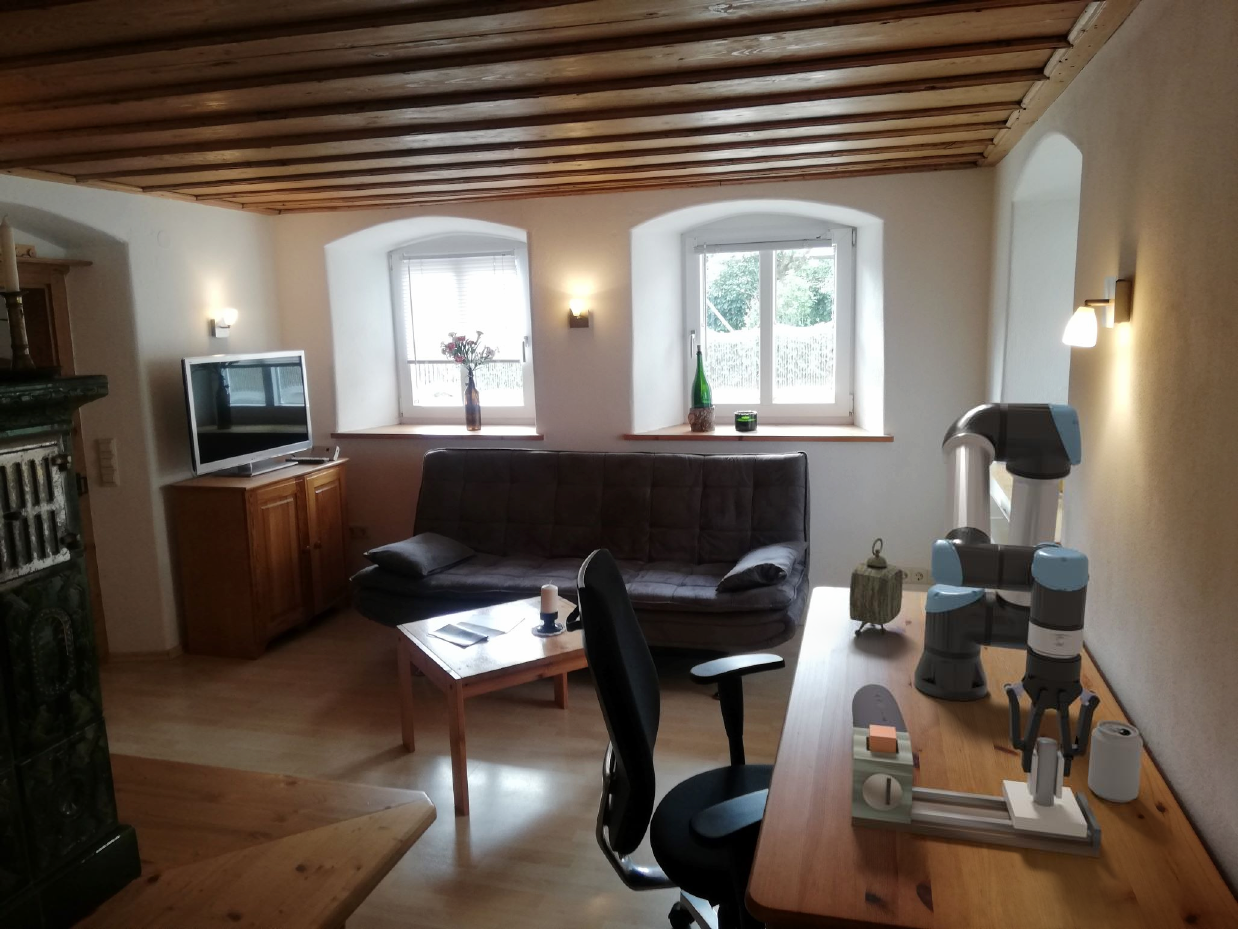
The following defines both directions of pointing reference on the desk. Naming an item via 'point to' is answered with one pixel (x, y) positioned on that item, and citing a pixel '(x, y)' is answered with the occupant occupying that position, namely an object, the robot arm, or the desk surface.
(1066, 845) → the rail bed
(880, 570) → the tabletop clock
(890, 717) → the bluetooth speaker
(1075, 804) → the carriage
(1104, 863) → the desk surface
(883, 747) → the button
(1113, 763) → the can
